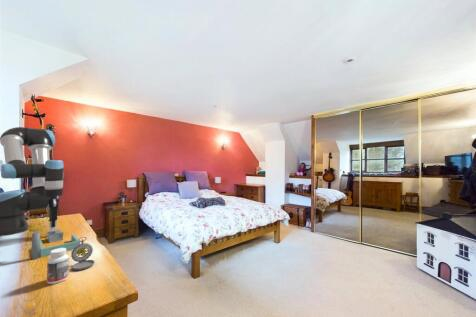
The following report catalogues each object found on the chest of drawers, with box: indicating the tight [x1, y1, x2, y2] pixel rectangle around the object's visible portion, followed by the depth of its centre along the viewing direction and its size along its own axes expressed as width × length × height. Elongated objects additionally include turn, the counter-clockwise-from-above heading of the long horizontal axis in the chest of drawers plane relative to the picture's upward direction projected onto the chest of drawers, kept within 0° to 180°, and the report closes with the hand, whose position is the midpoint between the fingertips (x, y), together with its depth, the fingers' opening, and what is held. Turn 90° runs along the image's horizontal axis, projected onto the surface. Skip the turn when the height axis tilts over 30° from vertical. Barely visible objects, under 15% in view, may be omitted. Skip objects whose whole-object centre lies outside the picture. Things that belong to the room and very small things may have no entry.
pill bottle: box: [46, 248, 70, 285], centre depth 68 cm, size 5×5×10 cm
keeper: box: [31, 230, 81, 260], centre depth 94 cm, size 15×16×10 cm
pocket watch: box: [70, 236, 95, 271], centre depth 78 cm, size 8×8×10 cm
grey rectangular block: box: [46, 229, 64, 244], centre depth 105 cm, size 7×5×4 cm
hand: (52, 232), depth 111 cm, fingers closed
